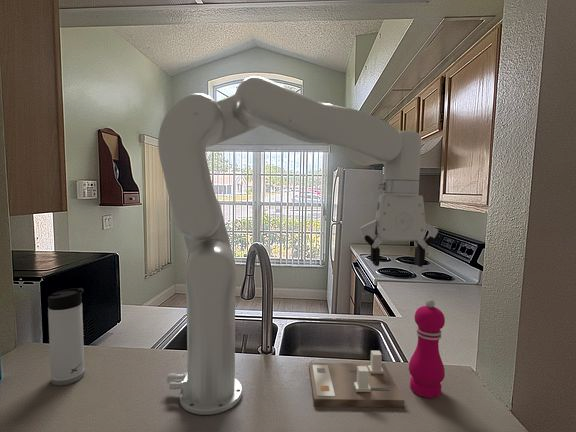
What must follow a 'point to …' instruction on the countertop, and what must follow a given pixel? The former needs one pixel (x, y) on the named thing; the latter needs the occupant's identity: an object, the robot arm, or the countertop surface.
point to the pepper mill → (427, 352)
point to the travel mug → (66, 336)
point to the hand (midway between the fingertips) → (397, 265)
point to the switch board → (351, 387)
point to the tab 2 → (375, 363)
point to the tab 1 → (362, 379)
